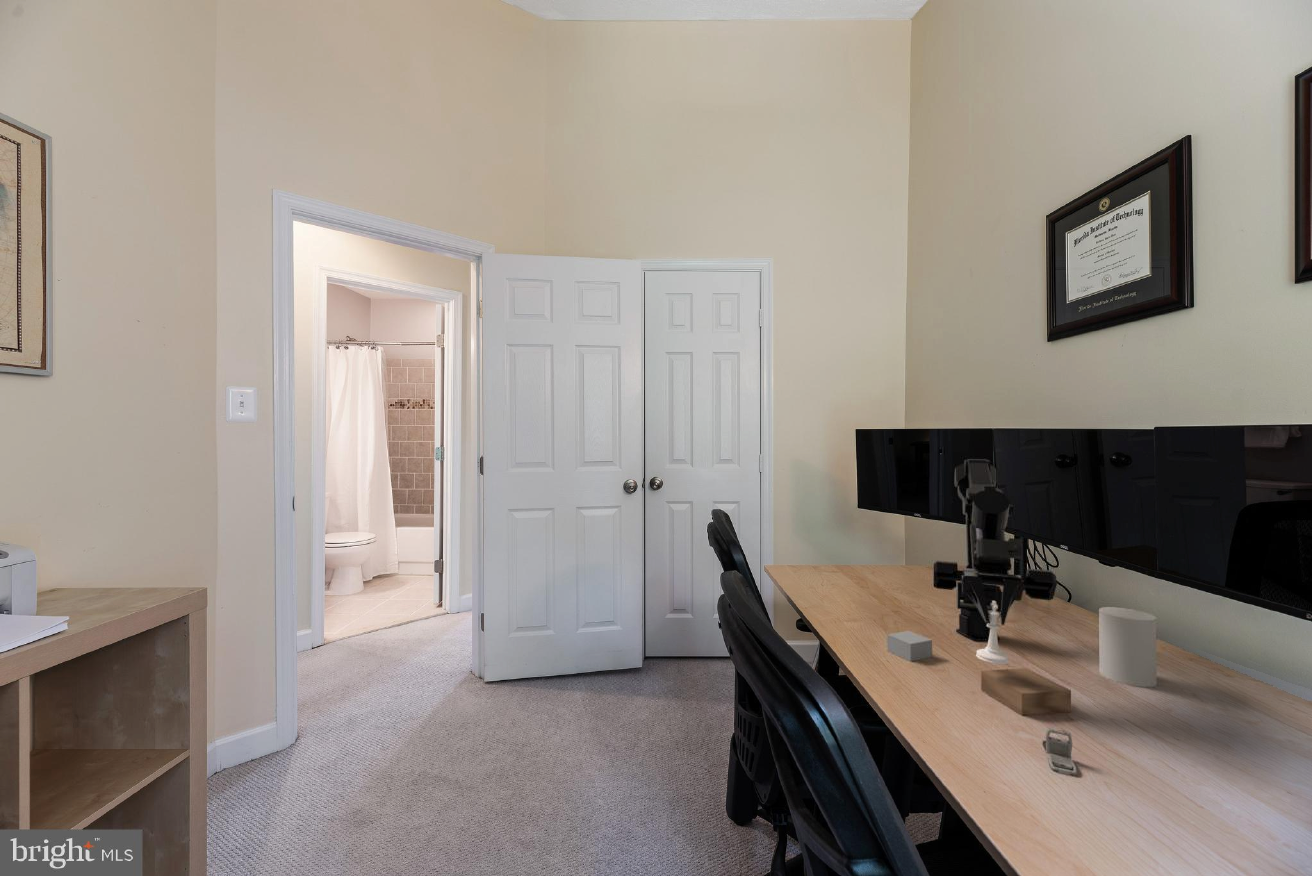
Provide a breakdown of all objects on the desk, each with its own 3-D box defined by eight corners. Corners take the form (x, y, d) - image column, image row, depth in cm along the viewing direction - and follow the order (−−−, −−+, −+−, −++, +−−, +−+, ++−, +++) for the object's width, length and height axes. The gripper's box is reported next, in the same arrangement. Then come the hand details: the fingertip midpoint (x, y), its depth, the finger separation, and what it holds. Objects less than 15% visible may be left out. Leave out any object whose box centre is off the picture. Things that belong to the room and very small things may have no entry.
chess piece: (1000, 654, 97) (1002, 597, 97) (1015, 665, 92) (1016, 606, 92) (971, 651, 98) (972, 596, 98) (983, 663, 93) (985, 604, 93)
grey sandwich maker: (1078, 780, 72) (1078, 748, 72) (1050, 773, 73) (1050, 741, 73) (1066, 748, 79) (1066, 719, 80) (1041, 743, 81) (1041, 714, 81)
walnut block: (1026, 687, 99) (1026, 668, 99) (1071, 711, 90) (1071, 690, 90) (981, 690, 97) (981, 670, 97) (1021, 715, 88) (1021, 693, 89)
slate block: (908, 647, 118) (908, 630, 118) (932, 657, 113) (932, 639, 113) (887, 651, 116) (887, 634, 116) (910, 661, 110) (910, 644, 110)
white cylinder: (1146, 673, 105) (1145, 610, 105) (1164, 690, 98) (1163, 622, 98) (1093, 665, 109) (1093, 605, 109) (1107, 681, 101) (1106, 616, 101)
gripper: (933, 517, 103) (934, 591, 93) (1054, 524, 95) (1069, 606, 85) (933, 551, 110) (933, 623, 100) (1045, 560, 102) (1058, 640, 92)
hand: (995, 622), depth 94 cm, fingers closed on chess piece
